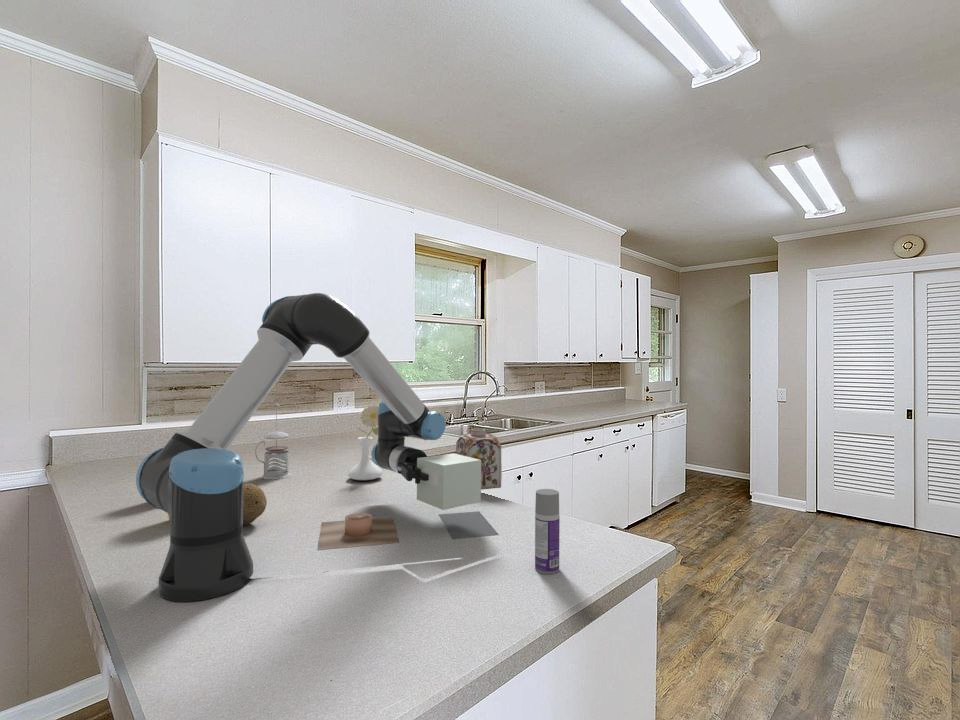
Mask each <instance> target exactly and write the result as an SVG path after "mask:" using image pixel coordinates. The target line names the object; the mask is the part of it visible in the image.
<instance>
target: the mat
mask: <svg viewBox="0 0 960 720" xmlns="http://www.w3.org/2000/svg"><path fill="white" fill-rule="evenodd" d="M438 517H439V518H440V520H441V522H442V524H443V525H444V527H445V529H446V530H447V532H448V534H449V536H450V538H451V539H452V540H457V539H459V540H460V539H467V538H468V539H470V538H478V537H479V538H480V537H481V538H482V537H491V536H499V535H500V534H499V532H497V531H496V529H495V528H494V527H493V525H491V523H490V522H489V521H488V520H487V519H486V517H484V515H483V514H482V512H481V511H479V510H477V511H465V512H452V513H441V514H438Z"/></svg>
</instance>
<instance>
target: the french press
mask: <svg viewBox="0 0 960 720" xmlns="http://www.w3.org/2000/svg"><path fill="white" fill-rule="evenodd" d="M279 407H280V404H279V403H274V404H273V408H275V421H276V422H275V431H272V432H268V433H267V434H266V435H264V436H263V438H264V439H265V440H275V444H276V445H272V446H268V447H265V451H266V452H264V460H261V459H260V458H259V457H258V455H257V448H258V447H259V445H260V444H262V443H263V445H264V446H265V445H266V441H265V440H261V441H260V442H258V444H257V445H256V447H255V449H254V453H255V454H254V455H255V458H256V460H257V461H258V462H259V463H262V464H263V474H262V476H261V477H262V478H264V479H263V480H270V479H271V480H280V479H279V478H283V479H286V478H285V477H287V478H289V476H290V477H291V476H292V473H290V471H289V470H290V469H289V467H290V466H289V465H290V463H289V462H290V461H289V460H290V459H289V458H290V457H289V450H287V449H289V447H288V446H286V445H278V440H281V439H282V440H283V439H286V438H289V437H290V435H289V434H288V433H286V432H284V431H278V409H277V408H279ZM262 478H261V479H262Z"/></svg>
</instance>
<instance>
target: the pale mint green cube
mask: <svg viewBox="0 0 960 720" xmlns="http://www.w3.org/2000/svg"><path fill="white" fill-rule="evenodd" d="M417 468H420V472H421V469H426V470H429V471H432V472H435V473H439V474H440V484H439V486H435V485H432V484H429V483H426V482H423V481H421V480H420V483H419V484H416V500H417V501H419V502H422V503H424V504H426V505H430V506H432V507H435V508H437V509H439V510H441V511H445V510H449V509H454V508H458V507H464V506H468V505H472V504H477V503H481V502H482V500H481V499H482V498H481V497H482V490H481V460H479V459H475V458H471V457H467V456H463V455H459V454H456V452H455V453H446V454H445V453H444V454H439V455H438V454H436V455H430V456H427V457H422V458H417Z"/></svg>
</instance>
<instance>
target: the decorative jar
mask: <svg viewBox="0 0 960 720" xmlns="http://www.w3.org/2000/svg"><path fill="white" fill-rule="evenodd" d="M455 445H456V447H455V454H459V455H463V456H467V457H471V458H475V459H479V460H481V491H482V490H491V489H501V488H502V477H503V476H502V468H503V467H502V445H501V442H500V441H499V439H498V437H497V436H496V435H494V434H491V433H486V429H485V428H478V427H477V428H471V429H470V433H464V434H461V435H459V438H458V439H457V441H456V444H455Z"/></svg>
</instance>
